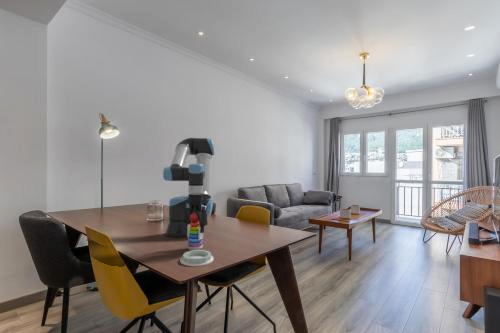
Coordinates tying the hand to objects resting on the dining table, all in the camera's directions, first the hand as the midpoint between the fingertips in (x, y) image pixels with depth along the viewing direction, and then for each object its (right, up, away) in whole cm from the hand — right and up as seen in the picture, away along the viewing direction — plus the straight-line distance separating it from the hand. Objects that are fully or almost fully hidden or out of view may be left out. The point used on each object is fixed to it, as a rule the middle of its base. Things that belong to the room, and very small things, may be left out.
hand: (195, 237), depth 137 cm
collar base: (+4, -6, -16) cm, 18 cm away
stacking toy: (0, -6, 0) cm, 6 cm away
